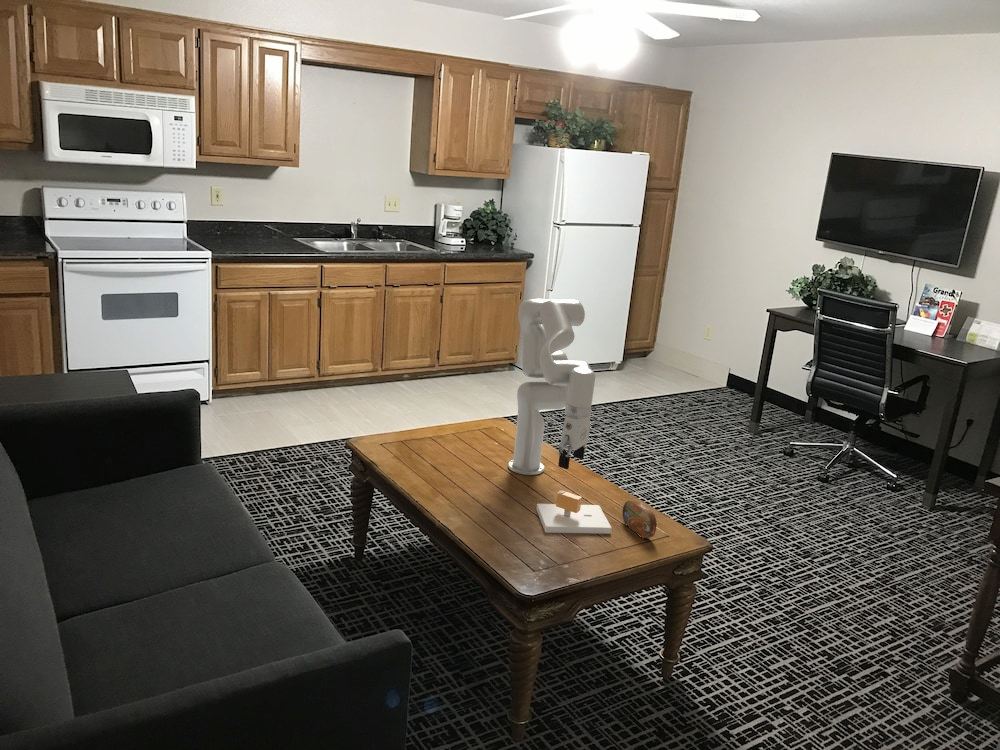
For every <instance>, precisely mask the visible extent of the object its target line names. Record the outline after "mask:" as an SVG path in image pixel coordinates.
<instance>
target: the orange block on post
mask: <svg viewBox="0 0 1000 750" xmlns="http://www.w3.org/2000/svg"><path fill="white" fill-rule="evenodd" d="M582 499H583V497H582V496H580V495H577V494H573V493H572V492H568V491H565V490H562V489H561V490H559V491H558V492H557V494H556V501H555V504H556V507H559V508H562V509H565V510H568V511H571V512H574V513H578V512H579V511H580V507H581V505H582Z"/></svg>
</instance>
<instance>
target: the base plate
mask: <svg viewBox="0 0 1000 750" xmlns="http://www.w3.org/2000/svg"><path fill="white" fill-rule="evenodd" d="M536 512H537V515H538V517H539V520H540V523H541V525H542V528H543V530H544V533H545V534H546V533H550V534H552V533H553V534H555V533H556V534H557V533H558V534H599V535H600V534H601V535H603V534H605V535H606V534H609V535H610V534H611V533H612V526H611V524H610V522H609V521H608V520H609V519H607V517H606V515H605V513H604V511H603V510H602V508H601V506H600V505H599V504H581V507H580V511H579V512H578V513H574V512H571V511H568V510H565V509H562V508H559V507H556V503H536Z"/></svg>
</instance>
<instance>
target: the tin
mask: <svg viewBox="0 0 1000 750" xmlns="http://www.w3.org/2000/svg"><path fill="white" fill-rule="evenodd" d="M622 519H623V522H624V525H626V524H627V525H628V526H629V527H630V528H631V529H632V530H633V531H635V532H636V533H637V534H639V535H640V536H641V537H642V538H641V539H648V538H653V537H654V536H655V534H656V531H657V525H658V524H657V518H656V516H655V514H654V513H653V511H652V510H650V509H649V508H647V506H645V505H643V504H642V503H641V502H640V501H638V500H627V501H625V502H624V504H623V507H622ZM630 528H629V529H630ZM631 529H630V530H631ZM632 530H631V531H632ZM633 531H632V532H633ZM636 533H635V534H636ZM637 534H636V535H637Z"/></svg>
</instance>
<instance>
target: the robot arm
mask: <svg viewBox="0 0 1000 750" xmlns="http://www.w3.org/2000/svg"><path fill="white" fill-rule="evenodd" d="M518 307H519V308H518V315H517V317H518V323H519V326H520V327H519V328H520V331H521V333H522V334H521V335H522V355H521V356H522V357H521V358H522V360H521V363H522V364H521V365H522V366H521V367H522V372H523V374H524V376H526V377H527V378H531V379H532V378H533V379H534V378H535V379H542V378H543V379H544V380H545V381H526V382H523V383H522V384H520V385H519V386H518V389H517V391H516V393H517V394H516V398H517V399H516V400H517V419H516V429H515V439H514V450H513V459H511V460H509V462H508V465H507V467H508V468H509V470H510V471H511V472H513V473H516V474H519V475H524V476H535V475H539V474H542V473H543V472H544V470H545V465H544V464H543V463H542V462H541V460H542V451H543V442H544V432H545V419H544V418H543V415H542V414H541V413H540V411H544V410H563V409H564V408H565V409H564V414H565V417H564V421H563V425H562V430H561V431H562V432H561V435H560V436H561V437H560V442H559V444H558V455H559V458H558V464H557V465H558V466H557V467H559V468H561V469H564V470H569V468H570V467H569V466H570V461H571V460H570V459H571V456H570V455H571V452H572V450H573V457H574V458H575V459H579V460H584V457H585V456H584V455H585V451H586V449H585V448H586V445H587V443H589V439H590V438H589V437H590V428H591V413H592V412H591V411H592V404H593V396H594V389H595V383H596V382H595V381H596V373H595V371H593V369H592V368H591V366H590V363H588V362H587V361H584V360H572V359H571V360H570V359H568V356H567V354H566V353H565V352H564V351H562V350H563V349H566V348H568V347H569V346H570V345H572V343H573V342H574V340H575V332H574V329H573V327H579V326H581V325H582V324H583V323H584V321H585V316H586V313H585V312H586V311H585V308H584V305H583V304H582V303H581V302H580V301H579V300H576V299H563V298H561V299H560V298H559V299H558V298H556V299H555V298H553V299H551V298H547V299H546V298H529V299H525V300H523V301H521V303H520V304H519V306H518Z"/></svg>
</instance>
